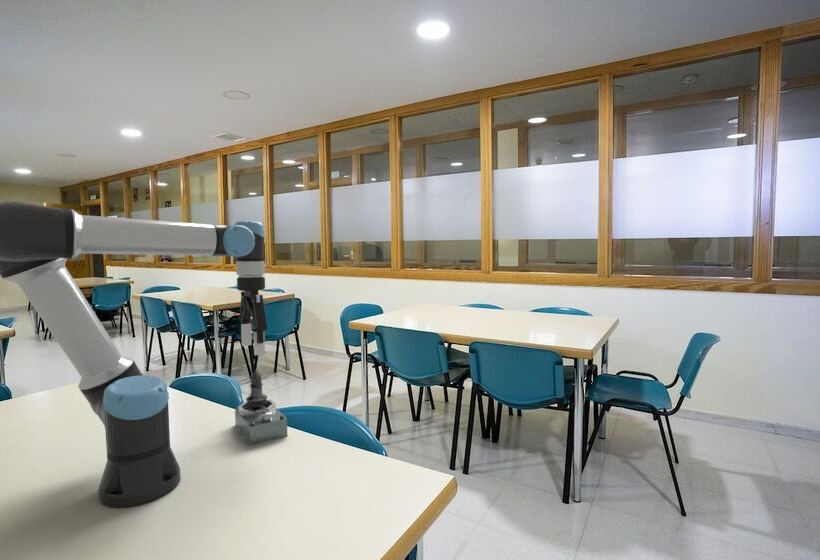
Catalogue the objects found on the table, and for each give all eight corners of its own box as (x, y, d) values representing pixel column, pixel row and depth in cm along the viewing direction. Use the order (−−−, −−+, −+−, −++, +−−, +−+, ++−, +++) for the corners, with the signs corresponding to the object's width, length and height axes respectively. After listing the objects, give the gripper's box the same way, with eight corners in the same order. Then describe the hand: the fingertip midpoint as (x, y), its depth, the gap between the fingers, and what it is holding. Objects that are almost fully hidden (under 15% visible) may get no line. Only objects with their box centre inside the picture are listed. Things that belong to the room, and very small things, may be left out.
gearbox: (287, 435, 121) (286, 411, 120) (250, 445, 115) (249, 419, 114) (269, 417, 134) (268, 395, 133) (235, 425, 128) (234, 401, 127)
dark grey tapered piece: (271, 406, 129) (270, 366, 128) (262, 413, 123) (261, 372, 122) (252, 405, 130) (250, 366, 129) (242, 413, 124) (241, 371, 123)
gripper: (278, 278, 115) (279, 356, 117) (252, 273, 136) (254, 340, 137) (248, 279, 111) (251, 360, 112) (227, 274, 131) (229, 343, 133)
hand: (252, 349), depth 125 cm, fingers open, 13 cm apart
